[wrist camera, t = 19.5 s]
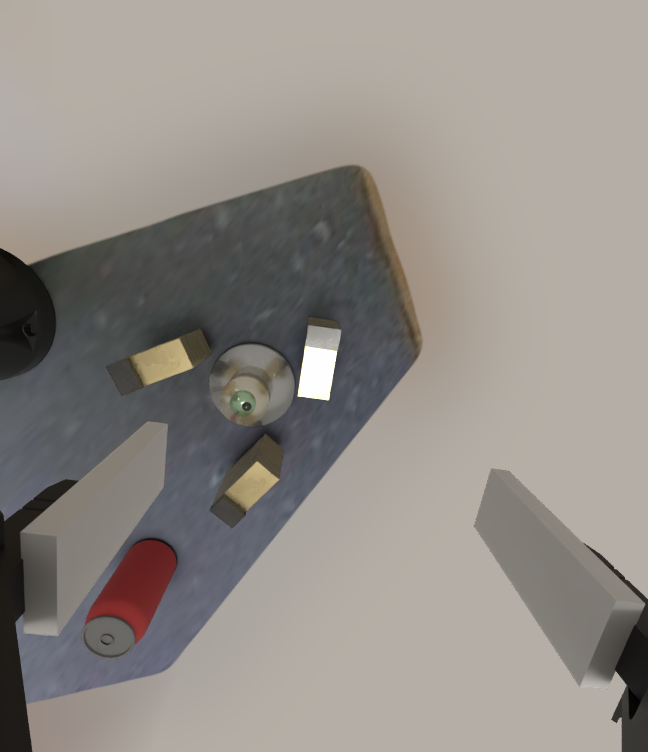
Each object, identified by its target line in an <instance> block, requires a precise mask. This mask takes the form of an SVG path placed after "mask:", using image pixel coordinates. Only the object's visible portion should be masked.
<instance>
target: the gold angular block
mask: <svg viewBox="0 0 648 752" xmlns="http://www.w3.org/2000/svg"><path fill="white" fill-rule="evenodd" d="M211 354H212V352H211V350H210V348H209V346H208V344H207V341H206V339H205V337H204V335H203V333H202V330H201V329H198V330H196V331H193V332H190V333H188V334H185V335H183V336H180V337H177V338H175V339H172V340H169V341H167V342H164V343H162V344H159V345H156V346H154V347H151V348H148V349H146V350H143V351H141V352H138V353H136V354H134V355H131V356H129V357H127V358H124V359H122V360H120V361H117V362H115V363H112V364H110V365H108V366H106V368H107V370H108V372H109V374H110V376H111V377H112V379H113V381H114V383H115V385H116V387H117V389H118V391H119V392H120V394H121V396H122V395H125V394H128V393H130V392H133V391H136V390H138V389H141V388H143V387H144V386H147V385H149V384H152V383H155V382H157V381H160V380H163V379H165V378H168V377H171V376H173V375H176V374H179V373H181V372H184V371H187V370H189V369H192V368H194V367H195V366H197V365H198V364H199V363H201V362H202V361H203V360H205V359H206V358H207V357H209V356H210V355H211Z"/></svg>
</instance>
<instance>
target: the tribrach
mask: <svg viewBox="0 0 648 752" xmlns="http://www.w3.org/2000/svg"><path fill="white" fill-rule="evenodd" d="M209 389H210V394H211V398H212V400H213V402H214V404H215V406H216V407H217V409H218V410H219V411H220V412H221V413H222V414H223V415H224V416H225V417H226V418H227V419H228V420H230V421H231V422H233V423H236V424H239V425H244V426H262V425H266V424H269V423H272V422H274V421H275V420H277V419H278V418H280V417H281V416H282V415H283V414H284V413H285V412H286V411H287V409H288V408H289V406H290V404H291V402H292V399H293V396H294V390H295V379H294V374H293V371H292V368H291V366H290V365H289V363H288V361H287V360H286V359H285V358H284V357H283V356H282V355H281V354H280V353H279V352H278V351H276V350H275V349H273V348H271V347H269V346H266V345H263V344H258V343H246V344H241V345H238V346H235V347H233V348H231V349H229V350H228V351H227V352H225V353H224V354H223V355H222V356H221V357H220V358H219V359H218V360H217V361H216V363H215V365H214V366H213V368H212V371H211V374H210V379H209Z"/></svg>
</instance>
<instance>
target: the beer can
mask: <svg viewBox="0 0 648 752" xmlns="http://www.w3.org/2000/svg"><path fill="white" fill-rule="evenodd" d="M176 563H177V560H176V557H175V554H174V552H173V551H172V549H171V548H170V547H169V546H167V545H166V544H165V543H162V542H160V541H155V540H146V541H141V542H139V543H137V544H135V545H134V546H133V547H132V548H131V549H130V550H129V551H128V553H127V554H126V556H125V557H124V559H123V560H122V562H121V563H120V565H119V566H118V568H117V569H116V571H115V572H114V574H113V575H112V577H111V578H110V580H109V581H108V583H107V584H106V586H105V587H104V589H103V590H102V592H101V593H100V595H99V596H98V598H97V599H96V601H95V602H94V604H93V605H92V607H91V609H90V611H89V613H88V615H87V618H86V621H85V626H84V628H83V630H82V632H81V640H82V642H83V645H84V647H85V648H86V649H87V650H88V651H89V652H90V653H92V654H93V655H94V656H97V657H100V658H102V659H117V658H121V657H123V656H125V655H127V654H128V653H129V652H130V651H132V649H133V647H134V645H135V644H136V643H137V642H138V641H139V640H140V639H141V638H142V637H143V636H144V634H145V632H146V630H147V628H148V626H149V624H150V622H151V620H152V618H153V616H154V614H155V611H156V609H157V607H158V605H159V603H160V601H161V599H162V597H163V594H164V592H165V590H166V588H167V586H168V584H169V582H170V580H171V577H172V575H173V573H174V571H175V569H176Z"/></svg>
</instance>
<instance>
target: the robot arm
mask: <svg viewBox="0 0 648 752" xmlns="http://www.w3.org/2000/svg"><path fill="white" fill-rule="evenodd" d="M54 331H55V317H54V311H53V306H52V303H51V300H50V297H49V295H48V293H47V291H46V289H45V287H44V286H43V284H42V282H41V281H40V280H39V278H38V277H37V276H36V274H35V273H34V272H33V271H32V270H31V269H30V268H29V267H28V266H27V265H26V264H25V263H24V262H22V261H21V260H20V259H18V258H17V257H15V256H14V255H12V254H11V253H9V252H7V251H5V250H3V249H1V248H0V380H4V379H8V378H11V377H14V376H17V375H20V374H22V373H25V372H27V371H29V370H30V369H32V368H33V367H35V366H36V365H37V364H38V363H39V362H40V361H41V360H42V359H43V358H44V357H45V355H46V354H47V352H48V350H49V348H50V346H51V344H52V341H53V337H54ZM167 430H168V424H164V423H157V422H149V421H148V422H146V423H145V424H144V425H143V426H142V427H141V428H139V429H138V430H137V431H136V432H135V433H134V434H133V435H131V436H130V437H129V438H128V439H127V440H126V441H125V442H123V443H122V444H121V445H120V446H119V447H118V448H116V449H115V450H114V451H113V452H112V453H111V454H110V455H108V456H107V457H106V458H105V459H104V460H103V461H102V462H100V463H99V464H98V465H97V466H96V467H95V468H93V469H92V470H91V471H90V472H89V473H88V474H87V475H85V476H84V477H83V478H82V479H81V480H80V481H75V480H67V479H66V480H63V481H61V482H59V483H56V484H54V485H52V486H50V487H47V488H46V489H45V490H44V491H42V492H41V493H40V494H39V495H37V496H36V497H35V498H34V500H31V501H30V502H28V503H27V504H26V505H25V506H23V508H22V509H20V510H18V511H17V512H16V513H14V514H13V515H12V516H11V517H9V518H8V519H7V520H6V521H4V515H3V514H2V512H1V511H0V752H32V746H31V738H30V731H29V723H28V716H27V708H26V701H25V693H24V686H23V678H22V670H21V663H20V655H19V648H18V640H17V633H16V625H15V622H16V621H17V620H18V619H19V617H20V616H21V615H22V614H23V625H24V633H28V634H38V635H48V636H58V635H59V634H60V632H61V631H62V629H63V628H64V627H65V625H66V624H67V622H68V621H69V620H70V618H71V617H72V615H73V614H74V613H75V611H76V610H77V608H78V607H79V606H80V604H81V603H82V601H83V600H84V598H85V597H86V596H87V594H88V593H89V591H90V590H91V589H92V587H93V586H94V584H95V583H96V582H97V580H98V579H99V577H100V576H101V575H102V573H103V572H104V570H105V569H106V568H107V566H108V565H109V563H110V562H111V560H112V559H113V558H114V556H115V555H116V553H117V552H118V551H119V549H120V548H121V546H122V545H123V544H124V542H125V541H126V539H127V538H128V537H129V535H130V534H131V532H132V531H133V530H134V528H135V527H136V525H137V524H138V522H139V521H140V520H141V518H142V517H143V515H144V514H145V513H146V511H147V510H148V508H149V507H150V506H151V504H152V503H153V501H154V500H155V499H156V497H157V496H158V494H159V493H160V492H161V490H162V489H163V487H164V474H165V459H166V445H167ZM474 527H475V528H476V530H477V531H478V533H479V534H480V536H481V537H482V539H483V541H484V542H485V544H486V545H487V547H488V548H489V550H490V551H491V553H492V554H493V556H494V557H495V559H496V560H497V562H498V563H499V565H500V566H501V568H502V569H503V571H504V572H505V574H506V575H507V577H508V579H509V580H510V581H511V583H512V584H513V586H514V588H515V589H516V591H517V592H518V594H519V595H520V597H521V598H522V600H523V601H524V603H525V604H526V606H527V607H528V609H529V611H530V612H531V613H532V615H533V617H534V618H535V619H536V621H537V622H538V624H539V626H540V627H541V629H542V630H543V632H544V633H545V635H546V636H547V638H548V639H549V641H550V643H551V644H552V646H553V647H554V648H555V650H556V652H557V653H558V654H559V656H560V658H561V659H562V661H563V662H564V664H565V665H566V667H567V668H568V670H569V671H570V673H571V674H572V676H573V678H574V679H575V680H576V682H577V683H578V685H579V687H586V688H596V689H608V687H609V684H610V682H611V680H612V678H613V675H614V673H615V671H616V672H617V673H618V674H619V676H620V677H621V678H622V679H623V681H624V682H625V683H626V685H627V686H626V688H625V691H624V693H623V695H622V697H621V699H620V701H619V704H618V706H617V708H616V710H615V712H614V715H613V717H612V719H611V720H613V721H614V722H616V723H617V721H618V719H619V718H620V717H622V752H648V599H647V598H646V597H645V596H644V595H643V594H642V593H641V592H640V591H639V590H638V589H636V588H635V587H634V586H633V585H632V584H631V583H630V582H629V581H628V580H625V577H624V576H623V575H622V574H621V573H620V572H619V571H618V570H616V569H614V567H613V566H612V565H611V564H610V563H609V562H608V561H607V560H606V559H605V558H604V557H603V556H602V555H600V554H599V553H598V552H596V551H595V550H593V549H592V548H590V547H589V546H587V545H586V544H584V543H582V542H581V541H580V540H579V539H578V538H577V537H576V536H575V535H574V534H573V533H572V532H571V531H570V530H569V529H568V528H567V527H566V526H565V525H564V524H563V523H562V522H561V521H560V520H559V519H558V518H557V517H556V516H555V515H554V514H553V513H552V512H551V511H550V510H548V509H547V508H546V507H545V506H544V505H543V504H542V503H541V502H540V501H539V500H538V499H537V498H536V497H535V496H534V495H533V494H532V493H531V492H530V491H529V490H528V489H527V488H526V487H525V486H524V485H523V484H522V483H521V482H520V481H519V480H518V479H517V478H516V477H515V476H514V475H513V474H511V472H509V471H506V470H499V469H491V471H490V474H489V477H488V481H487V484H486V488H485V491H484V494H483V498H482V501H481V505H480V508H479V511H478V515H477V518H476V521H475V525H474Z"/></svg>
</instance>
